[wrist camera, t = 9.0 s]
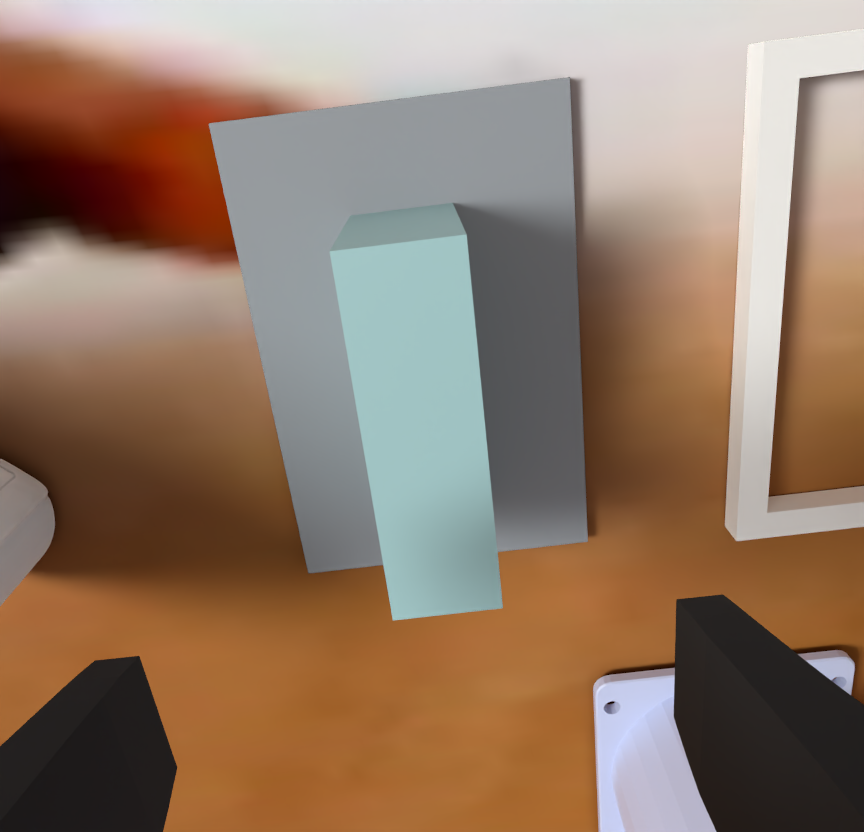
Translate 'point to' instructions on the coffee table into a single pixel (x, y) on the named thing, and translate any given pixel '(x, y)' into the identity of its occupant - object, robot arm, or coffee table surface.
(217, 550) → the coffee table surface
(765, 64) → the rack
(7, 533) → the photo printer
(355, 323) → the pale teal block
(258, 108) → the coffee table surface
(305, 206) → the mat
